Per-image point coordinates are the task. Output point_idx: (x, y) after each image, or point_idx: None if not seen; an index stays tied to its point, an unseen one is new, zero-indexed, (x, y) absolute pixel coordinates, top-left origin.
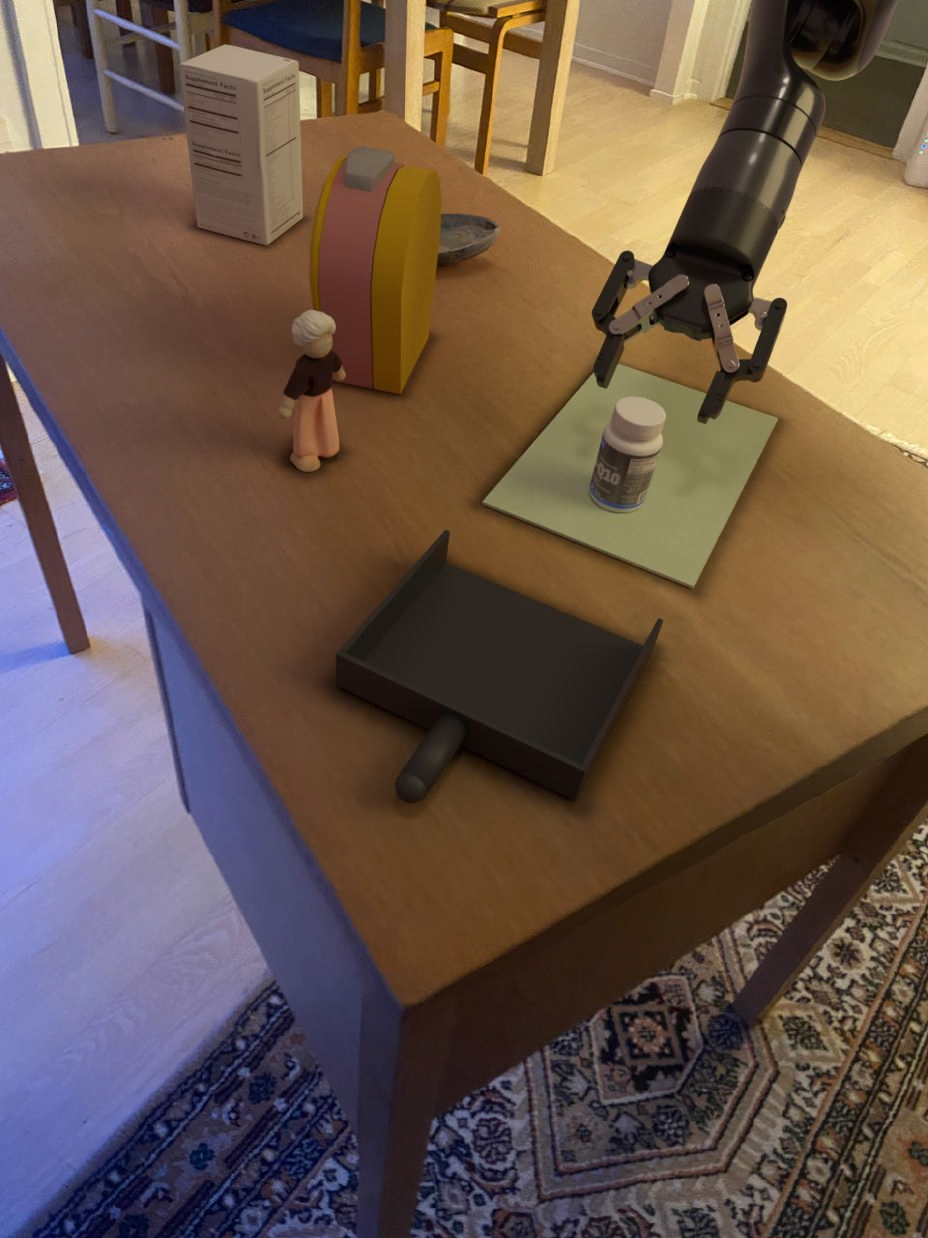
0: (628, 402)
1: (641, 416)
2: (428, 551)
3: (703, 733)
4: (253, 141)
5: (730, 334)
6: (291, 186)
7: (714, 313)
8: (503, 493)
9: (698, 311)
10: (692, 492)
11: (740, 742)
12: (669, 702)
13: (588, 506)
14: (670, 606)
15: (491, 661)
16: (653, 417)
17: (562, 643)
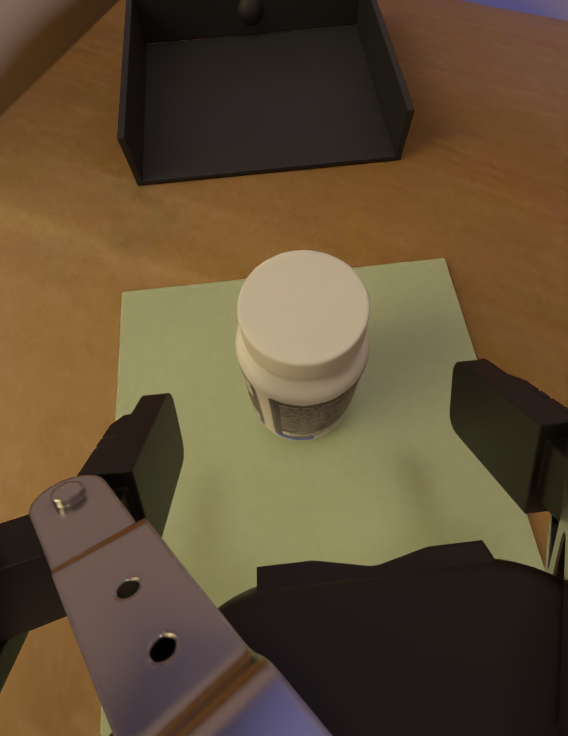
0: (344, 310)
1: (289, 284)
2: (400, 77)
3: (61, 139)
4: None
5: (63, 570)
6: None
7: (195, 648)
8: (436, 289)
9: (332, 669)
10: (192, 501)
11: (25, 149)
12: (101, 149)
13: None
14: (141, 253)
15: (270, 93)
16: (263, 300)
17: (224, 139)
